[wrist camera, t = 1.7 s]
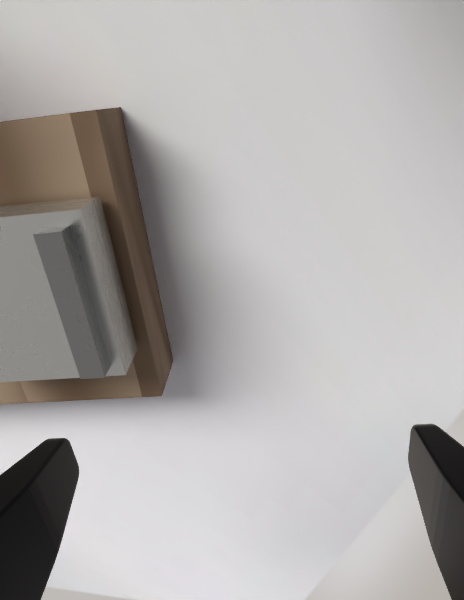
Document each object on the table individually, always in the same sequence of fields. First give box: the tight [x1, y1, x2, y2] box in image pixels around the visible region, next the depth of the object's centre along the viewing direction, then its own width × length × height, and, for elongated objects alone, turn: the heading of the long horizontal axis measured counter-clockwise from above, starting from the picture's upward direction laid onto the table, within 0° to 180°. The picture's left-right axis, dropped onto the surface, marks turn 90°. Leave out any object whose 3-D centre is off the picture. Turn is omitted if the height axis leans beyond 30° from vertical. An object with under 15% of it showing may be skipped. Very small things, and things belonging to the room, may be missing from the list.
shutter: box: [0, 197, 138, 382], centre depth 17 cm, size 7×7×3 cm
